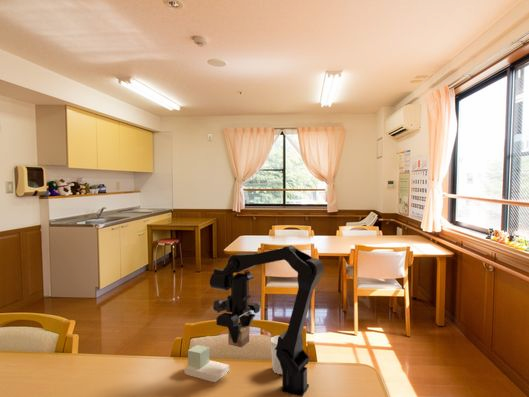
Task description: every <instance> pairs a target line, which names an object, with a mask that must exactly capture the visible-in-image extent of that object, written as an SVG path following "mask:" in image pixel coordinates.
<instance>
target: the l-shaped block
mask: <svg viewBox="0 0 529 397" xmlns="http://www.w3.org/2000/svg"><path fill="white" fill-rule="evenodd" d="M228 371H229V372H230V364H228V363H222V362H218V361H215V360H211V359H210V347H209V346H205V345H200V344H196V345H194V346H193V347H191V348H189V349H188V350H187V366H185V367H184V375H188V376H191V377H194V378H199V379H201V380H204V381H208V382H212V383H215V384H216V383H217V382H218V381H219V380H221V379H222V378H223V377H224V376H225V375H227V374H228V373H229V372H228ZM227 372H228V373H227ZM224 374H225V375H224Z"/></svg>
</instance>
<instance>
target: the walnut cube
mask: <svg viewBox="0 0 529 397" xmlns="http://www.w3.org/2000/svg"><path fill="white" fill-rule="evenodd" d="M227 336H228V345H229V346H233V347H238V348H243V347H244V346H247V344H248V343H249V342H250V326H243V325H242V326H241V329H240V333H239V337H238V340H237V343H233V341H232V338H231V335H230V332H229V329H228V335H227Z"/></svg>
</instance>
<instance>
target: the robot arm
mask: <svg viewBox="0 0 529 397" xmlns="http://www.w3.org/2000/svg"><path fill="white" fill-rule="evenodd" d="M279 261H286V262H287V264H289V266H290V267H291V269H293V270H294V271H295V272H296V273H297V277H296V278H297V279H296V280H297V286H298V289H297V292H296V296H295V299H294V304H293V307H292V312H291V314H290V320H289V322H288V325H287V326H288V327H287V330H286V331H284V332H283V333H281V334H280V336H279V335H278V336H279V337H278V342H277V346H276V348H275V350H277V351H276V357H277V358H278V360H279V362H280V365H281V368H282V375H281V376H282V377H281V378H282V379H281V380H282V381H281V382H282V384H281V385H282V388H281V391H282V392H283V393H286V394H291V395H293V396H298V397H304V395H305V393H306V391H307V390H308V388H309V387H310V384H309V383H308V367H307V365H308V364H309V361H310V358H311V357H310V356H309V355H308V354H307V352H306V351H305V350H304V349H303V343H304V339H303V330H304V327H305V322H306V318H307V315H308V312H309V308H310V304H311V300H312V297H313V293H314V290H315V289H316V287H317V285H318V284H319V282H320V280H321V278H322V276H323V274H324V273H325V272H324V271H325V265H324V263H323V262H322V261H321V260H320V259H319V258H316V257H313V256H311V255H310V254H308V253H306V252H303V251H302V250H299V249H298V248H297V247H295V246H293V245H287V246H283V247H281V248H277V249H272V250H266V251H262V252H258V253H257V252H255V253H254V252H242V253H237V254H233V255H230V256H229V257H228V261H227V264H226V266H225V267H224V268H223V269H222V268H219V267H218V268H214V269H213V273H212V274H211V276H210V279H209V286H210V288H212V289H214V290H222V291H229V290H230V294H229V295H228V296H227V298H225V299H223V300H221V299H216V300H214V301H213V306H212V307H213V308H212V309H213V310H214V311H215V312H216V313H217V314H219V313H220V312H223V311H225V312H223V313H222V314H220V315H218V316H217V317H216V318H215V322H216V323H215V325H216V326H220V327H226V328H228V329H229V332H230V335H231V338H232V341H233V343H237V340H238V337H239V333H240V329H241V326H242V325H243V326H249V327H250V326H251V324H252V323H253V321H254V318H255V317H256V314H257V313H260V310H261V308H260V304H258V302H253V301H249V299H250V298H251V294H250V293H249V281H250V280H253V279H254V278H255V276H254V275H253V274H251V272H250V271H247V270H249V269H252V268H255V266H256V267H257V266H260V265H263V264H264V265H265V264H270V263H276V262H279ZM243 271H246V272H244V273H242V272H243ZM252 311H253V313H252Z"/></svg>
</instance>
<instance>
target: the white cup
mask: <svg viewBox="0 0 529 397" xmlns="http://www.w3.org/2000/svg"><path fill="white" fill-rule="evenodd" d="M280 335H281V334H280ZM280 335H275V336H272V337H271V339H270V348H271V349H270V353H271V365H272V366H271V367H272V372H273V371H274V372H273V373H275V374H276V373H277V375H279V374H281V376H282V368H281V365H280V362H279V360H278V358H277V357H276V351H277V350H275V348H276V346H277V342H278V337H279V336H280Z"/></svg>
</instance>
